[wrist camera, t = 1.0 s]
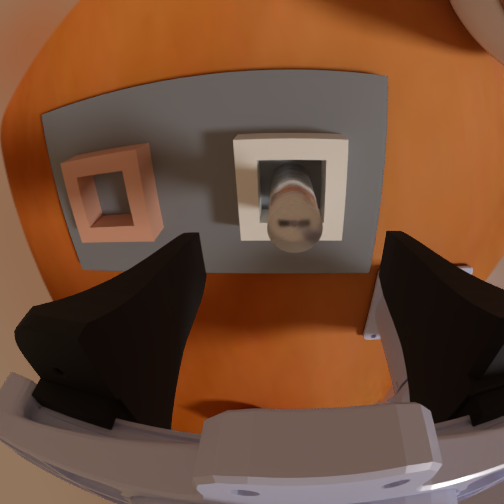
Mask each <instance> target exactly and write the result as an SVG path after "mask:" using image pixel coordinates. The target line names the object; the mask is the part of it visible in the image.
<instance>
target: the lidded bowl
mask: <svg viewBox="0 0 504 504" xmlns="http://www.w3.org/2000/svg"><path fill="white" fill-rule="evenodd" d="M449 1H450V3H451V5H452V7H453V9H454V11H455V13H456V15H457V16H458V18H459V19H460V21H461V22H462V24H463V25H464V27H465V28H466V29H467V30H468V32H469V33H470V34H471V36H472V37H473V38H474V39H475V40H476V41H477V42H478V44H479V45H480V46H482V47H483V48H484V49H485V50H486V51H487V52H488V53H489V54H490V55H491V56H492V57H493V58H495V59H496V60H497V61H498V62H500V63H501V64H502V65H504V0H449Z"/></svg>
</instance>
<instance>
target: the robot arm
mask: <svg viewBox="0 0 504 504" xmlns="http://www.w3.org/2000/svg"><path fill="white" fill-rule="evenodd" d="M472 273H473V269H472V267H471V266H455V265H454V264H452V263H450V262H449V261H447V260H446V259H444V258H443V257H441V256H440V255H438V254H437V253H435V252H434V251H432V250H431V249H429V248H428V247H426V246H425V245H423V244H422V243H420V242H419V241H417V240H416V239H414V238H413V237H411V236H409V235H408V234H406V233H404V232H402V231H386V238H385V243H384V249H383V255H382V260H381V265H380V270H379V271H378V275H377V279H376V284H375V288H374V293H373V297H372V301H371V305H370V309H369V313H368V317H367V321H366V325H365V329H364V332H363V338H364V339H366V340H373V339H381V342H382V345H383V349H384V353H385V357H386V360H387V364H388V368H389V372H390V376H391V380H392V385H393V389H394V393H395V396H393V397H392V398H390V399H389V400H388V403H383V404H374V405H364V406H352V407H338V408H317V409H261V408H253V409H239V410H227V411H224V412H222V413H220V414H217V415H215V416H213V417H210V418H208V419H206V420H204V425H203V430H202V434H195V433H188V432H181V431H175V430H171V423H172V413H173V406H174V399H175V392H176V386H177V380H178V375H179V370H180V365H181V360H182V356H183V351H184V348H185V344H186V341H187V338H188V335H189V332H190V330H191V327H192V324H193V321H194V319H195V316H196V313H197V310H198V307H199V305H200V302H201V299H202V296H203V291H204V286H205V281H206V270H205V264H204V259H203V253H202V247H201V241H200V235H199V232H189V233H183V234H181V235H179V236H177V237H176V238H174V239H173V240H171V241H170V242H168V243H167V244H166V245H164V246H163V247H161V248H160V249H159V250H157V251H156V252H154V253H153V254H151V255H150V256H148V257H147V258H145V259H144V260H142V261H141V262H139V263H138V264H136V265H135V266H133V267H132V268H130V269H128V270H127V271H125V272H123V273H121V274H120V275H118V276H116V277H114V278H112V279H110V280H108V281H106V282H104V283H102V284H99V285H97V286H95V287H93V288H91V289H88V290H86V291H83V292H81V293H78V294H75V295H72V296H69V297H66V298H63V299H60V300H57V301H53V302H49V303H45V304H41V305H37V306H33V307H32V308H31V309H30V310H29V312H28V313H27V314H26V315H25V317H24V318H23V319H22V321H21V322H20V323H19V325H18V326H17V327H16V329H15V331H14V333H15V340H16V343H17V345H18V347H19V349H20V351H21V352H22V354H23V355H24V357H25V358H26V359H27V361H28V362H29V363H30V364H31V366H32V367H33V369H34V370H35V371H36V372H37V374H38V375H39V376H40V378H41V379H40V380H39V382H38V384H36V383H34V382H33V381H31V380H30V379H28V378H25V377H23V376H20V375H18V374H16V373H13V372H11V373H10V374H9V376H8V377H7V379H6V381H5V382H4V384H3V386H2V387H1V389H0V440H1V441H2V442H3V443H4V444H6V445H7V446H8V447H9V448H11V449H12V450H13V451H15V452H16V453H17V454H19V455H20V456H21V457H23V458H24V459H26V460H27V461H29V462H31V463H32V464H34V465H36V466H38V467H40V468H41V469H43V470H45V471H47V472H49V473H51V474H52V475H54V476H56V477H58V478H60V479H62V480H64V481H66V482H68V483H70V484H72V485H74V486H76V487H78V488H81V489H83V490H85V491H87V492H90V493H92V494H94V495H97V496H99V497H102V498H104V499H106V500H109V501H112V502H114V503H117V504H504V290H503V289H501V288H498V287H496V286H494V285H492V284H489V283H487V282H485V281H483V280H481V279H479V278H477V277H475V276H473V275H472ZM373 334H374V335H373Z"/></svg>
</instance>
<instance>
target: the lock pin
mask: <svg viewBox="0 0 504 504" xmlns="http://www.w3.org/2000/svg"><path fill="white" fill-rule="evenodd" d="M322 231H323V224H322V220H321V216H320V212H319V209H318V205H317V201H316V198H315V194H314V191H313V187H312V184H311V180H310V177H309V174H308V172H307V171H306V169H305V168H303V167H302V166H301V165H299V164H295V163H286V164H283V165H281V166H279V167H278V168H277V169H276V170H275V171H274V173H273V176H272V181H271V192H270V202H269V213H268V223H267V232H268V236H269V238H270V240H271V242H272V243H273V244H274V245H275V246H276V247H278V248H279V249H281V250H283V251H286V252H290V253H299V252H304V251H306V250H309V249H310V248H312V247H313V246H314V245H315V244H316V243H317V242H318V241H319V239H320V238H321V235H322Z"/></svg>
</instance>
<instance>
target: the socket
mask: <svg viewBox="0 0 504 504" xmlns="http://www.w3.org/2000/svg"><path fill="white" fill-rule="evenodd" d="M60 165H61V169H62V173H63V178H64V182H65V186H66V190H67V193H68V197H69V201H70V204H71V208H72V211H73V215H74V218H75V222H76V225H77V228H78V231H79V234H80V237H81V240H82V243H93V242H152V241H155V239H156V238H157V237H158V235H159V234H160V232H161V231H162V230H163V228H164V225H163V220H162V215H161V210H160V205H159V200H158V194H157V189H156V183H155V177H154V171H153V165H152V159H151V153H150V146H149V143H142V144H136V145H129V146H123V147H117V148H111V149H106V150H100V151H95V152H90V153H85V154H81V155H76V156H74V157H72V158H70V159H68V160H66V161H64V162H62V163H60ZM117 171H122V172H123V177H124V182H125V187H126V192H127V196H128V201H129V205H130V210H131V214H120V215H104V216H103V214H102V210H101V206H100V203H99V199H98V194H97V190H96V186H95V182H94V177H93V175H96V174H103V173H110V172H117Z"/></svg>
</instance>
